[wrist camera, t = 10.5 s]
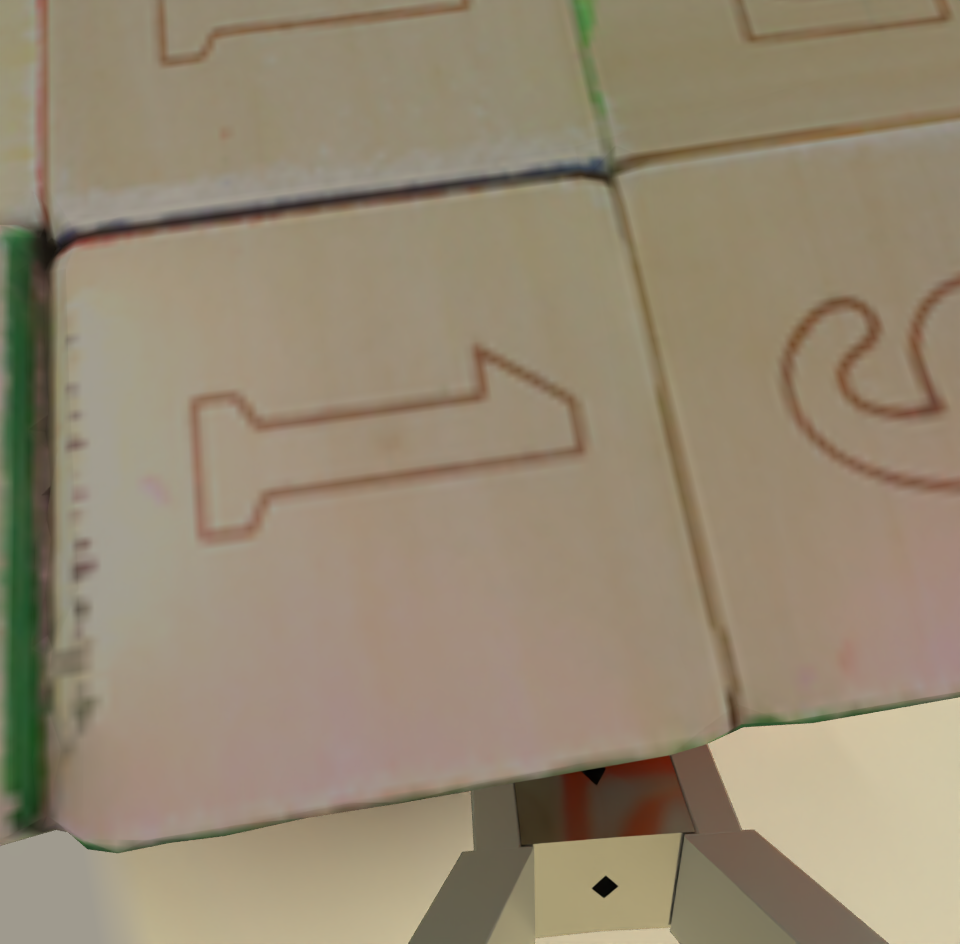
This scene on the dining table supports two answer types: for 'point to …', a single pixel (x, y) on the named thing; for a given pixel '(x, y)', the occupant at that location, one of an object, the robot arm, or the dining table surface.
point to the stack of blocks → (463, 393)
